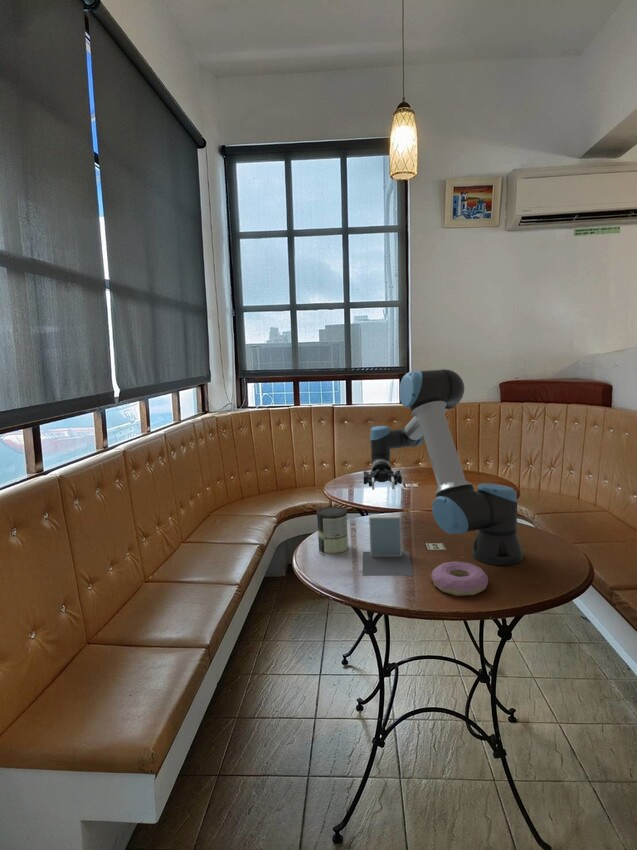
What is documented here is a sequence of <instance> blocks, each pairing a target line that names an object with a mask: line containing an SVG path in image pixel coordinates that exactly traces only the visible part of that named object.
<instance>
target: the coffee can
mask: <svg viewBox="0 0 637 850" xmlns="http://www.w3.org/2000/svg"><path fill="white" fill-rule="evenodd" d="M347 513H348V510H347V509H346V507H342V506H326V507H325V506H324V507H321V508H319V509H317V510H316V518H317V520H316V521H317V538H318V541H317V542H318V552H319V554H320V555H323V554H324V555H323V556H326V554H328V555H332V554H333V555H334V554H336V555H337V554H341V553H344V552H346V551H348V550H349V537H348V514H347Z"/></svg>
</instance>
